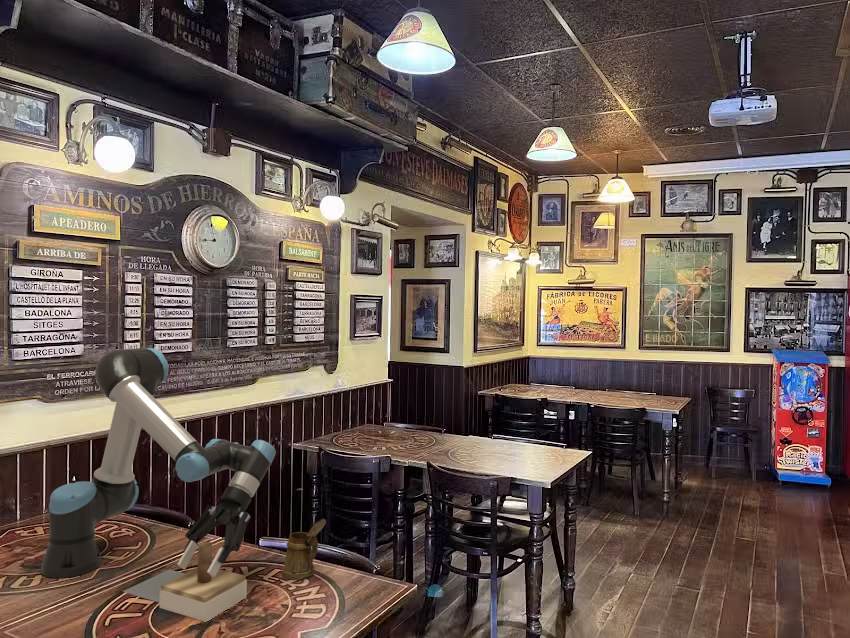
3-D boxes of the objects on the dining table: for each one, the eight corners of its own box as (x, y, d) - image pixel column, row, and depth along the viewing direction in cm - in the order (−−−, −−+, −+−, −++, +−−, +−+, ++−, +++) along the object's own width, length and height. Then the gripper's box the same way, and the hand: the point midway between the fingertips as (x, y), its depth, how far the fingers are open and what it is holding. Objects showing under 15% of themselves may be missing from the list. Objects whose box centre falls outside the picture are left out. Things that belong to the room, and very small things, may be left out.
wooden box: (159, 610, 159) (159, 590, 159) (202, 586, 172) (203, 568, 172) (205, 623, 153) (205, 603, 153) (246, 598, 166) (246, 579, 166)
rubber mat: (122, 593, 167) (122, 591, 167) (169, 571, 182) (169, 569, 181) (164, 606, 161) (164, 603, 161) (209, 582, 175) (209, 580, 175)
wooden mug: (311, 587, 174) (312, 522, 174) (275, 575, 181) (277, 513, 181) (332, 576, 182) (333, 514, 181) (297, 564, 189) (299, 505, 189)
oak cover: (161, 590, 159) (162, 548, 159) (203, 569, 172) (204, 530, 172) (204, 602, 153) (206, 559, 153) (245, 580, 166) (246, 540, 166)
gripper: (277, 505, 172) (236, 585, 157) (215, 493, 181) (171, 568, 166) (266, 491, 167) (222, 572, 153) (202, 479, 176) (155, 555, 161)
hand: (195, 570), depth 159 cm, fingers open, 9 cm apart
